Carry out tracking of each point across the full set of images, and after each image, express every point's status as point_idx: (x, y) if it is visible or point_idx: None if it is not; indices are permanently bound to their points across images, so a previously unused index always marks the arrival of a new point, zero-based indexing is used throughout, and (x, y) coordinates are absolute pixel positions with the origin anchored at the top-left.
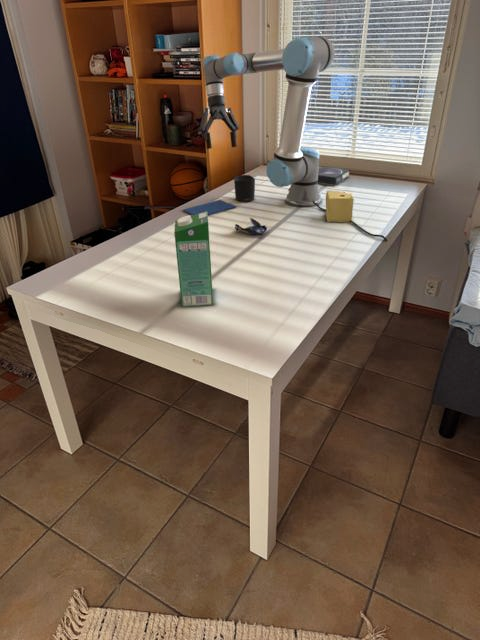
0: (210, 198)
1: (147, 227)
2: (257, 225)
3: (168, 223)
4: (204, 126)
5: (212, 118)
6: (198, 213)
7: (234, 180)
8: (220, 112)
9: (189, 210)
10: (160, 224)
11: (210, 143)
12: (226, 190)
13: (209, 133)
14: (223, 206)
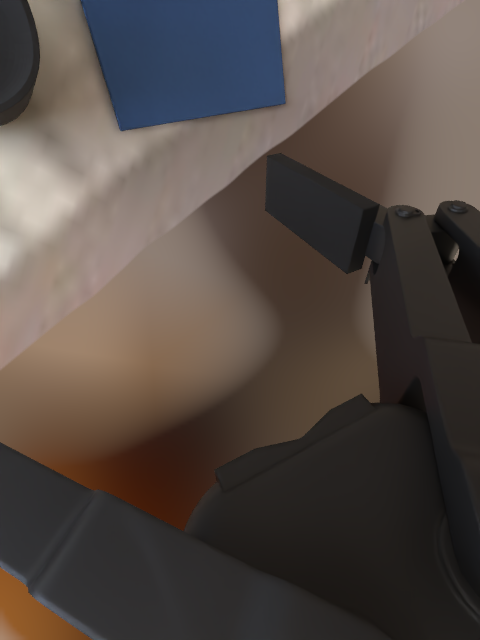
0: (148, 197)
1: (403, 21)
2: None
3: (358, 4)
4: (469, 229)
5: (460, 343)
6: (260, 6)
7: (39, 58)
8: (367, 625)
9: (272, 75)
10: (375, 16)
11: (295, 167)
12: (39, 279)
13: (357, 204)
14: (135, 11)
